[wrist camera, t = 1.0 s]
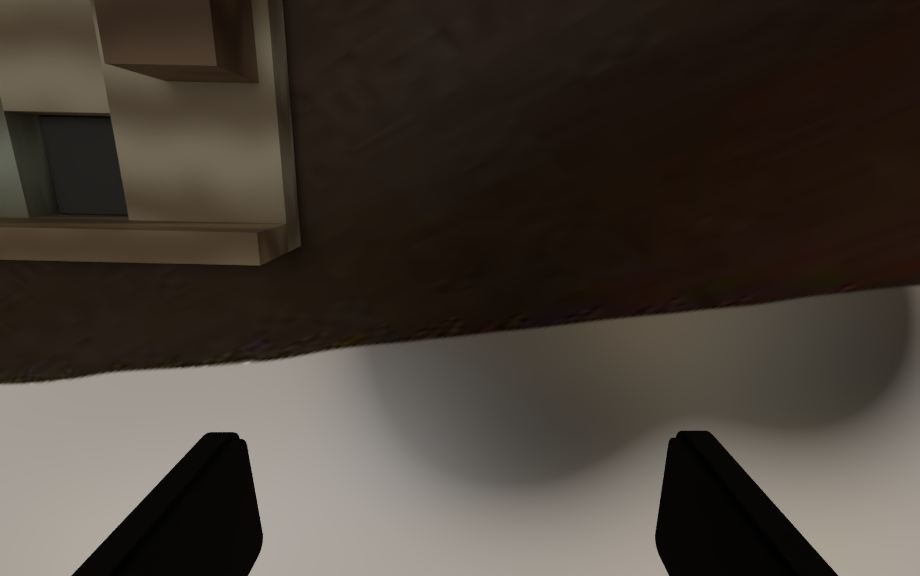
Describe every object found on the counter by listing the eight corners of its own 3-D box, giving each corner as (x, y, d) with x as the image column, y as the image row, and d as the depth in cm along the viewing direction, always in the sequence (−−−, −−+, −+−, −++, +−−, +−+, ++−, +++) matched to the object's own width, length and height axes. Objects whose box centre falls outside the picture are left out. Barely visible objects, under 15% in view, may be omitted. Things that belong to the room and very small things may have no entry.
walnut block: (150, -27, 27) (81, -70, 22) (249, -24, 27) (201, -67, 22) (166, 81, 28) (104, 63, 23) (258, 83, 28) (216, 65, 23)
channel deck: (-156, -71, 28) (-350, -146, 21) (277, -61, 28) (219, -133, 21) (-64, 237, 34) (-197, 255, 27) (301, 245, 33) (260, 265, 27)
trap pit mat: (40, 116, 31) (38, 116, 31) (136, 118, 31) (134, 118, 31) (61, 212, 33) (59, 213, 33) (152, 214, 33) (150, 215, 33)
